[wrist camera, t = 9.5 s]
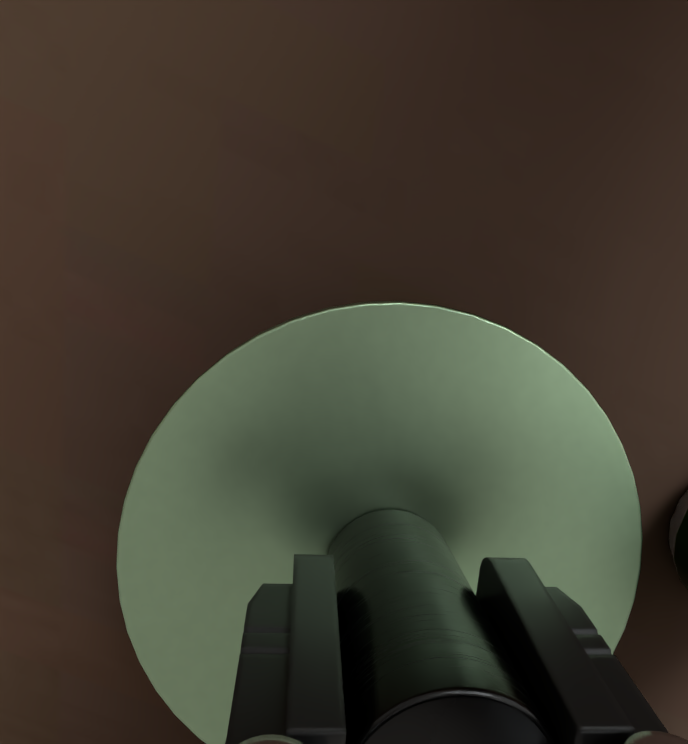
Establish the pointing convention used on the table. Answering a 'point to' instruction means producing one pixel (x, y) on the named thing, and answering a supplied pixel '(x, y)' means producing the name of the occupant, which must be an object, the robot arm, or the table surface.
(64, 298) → the table surface
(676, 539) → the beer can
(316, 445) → the bin lid
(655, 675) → the table surface
